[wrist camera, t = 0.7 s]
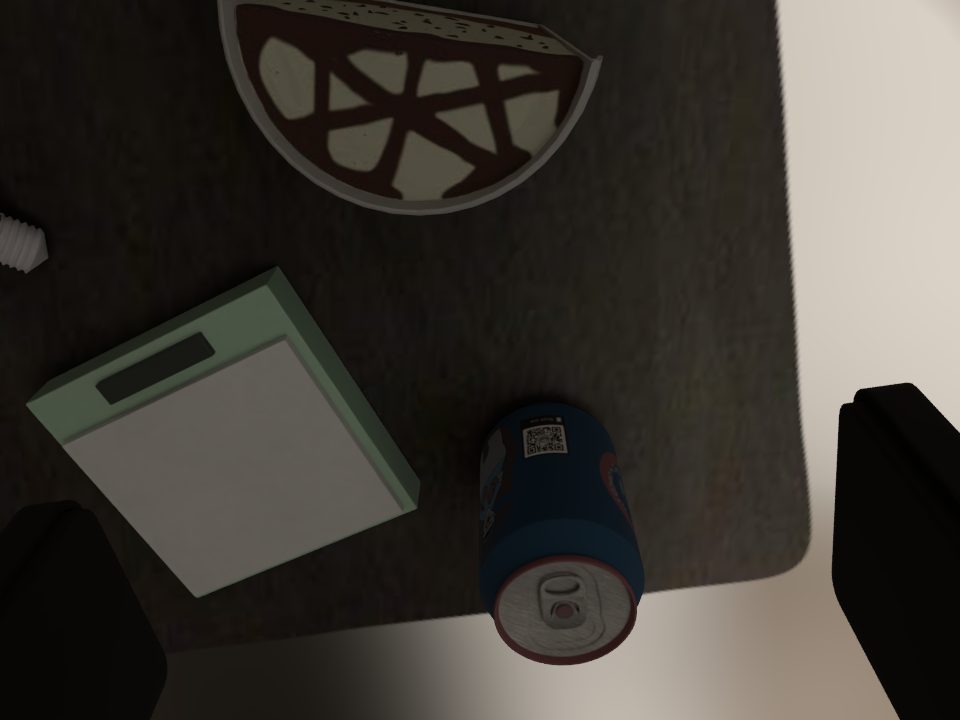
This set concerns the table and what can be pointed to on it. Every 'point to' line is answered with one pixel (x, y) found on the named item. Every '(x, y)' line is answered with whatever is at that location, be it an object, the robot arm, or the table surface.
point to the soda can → (556, 536)
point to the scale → (231, 436)
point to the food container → (405, 97)
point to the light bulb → (21, 244)
